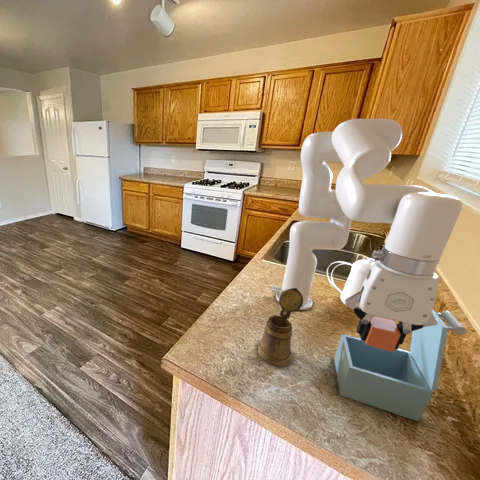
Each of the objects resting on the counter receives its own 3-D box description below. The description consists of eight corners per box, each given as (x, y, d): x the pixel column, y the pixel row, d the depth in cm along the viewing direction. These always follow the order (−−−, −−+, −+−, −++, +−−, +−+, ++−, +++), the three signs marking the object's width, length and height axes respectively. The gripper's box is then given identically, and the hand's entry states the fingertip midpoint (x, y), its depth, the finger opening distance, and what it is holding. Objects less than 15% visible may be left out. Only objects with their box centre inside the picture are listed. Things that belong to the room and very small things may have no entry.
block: (365, 344, 54) (372, 327, 52) (361, 331, 58) (367, 314, 56) (393, 352, 52) (401, 334, 50) (387, 337, 56) (394, 320, 54)
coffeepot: (400, 327, 87) (420, 277, 80) (317, 296, 104) (328, 253, 97) (403, 313, 94) (422, 265, 87) (325, 286, 111) (336, 245, 104)
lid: (442, 327, 50) (478, 331, 48) (417, 294, 61) (446, 296, 59) (431, 390, 55) (464, 396, 53) (409, 350, 65) (436, 353, 63)
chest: (340, 395, 64) (349, 367, 61) (334, 358, 74) (341, 333, 71) (418, 421, 58) (433, 392, 55) (399, 378, 68) (411, 351, 65)
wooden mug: (300, 345, 79) (313, 293, 73) (283, 371, 70) (296, 315, 64) (271, 331, 85) (280, 282, 79) (252, 353, 76) (260, 300, 70)
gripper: (355, 260, 49) (331, 339, 55) (483, 281, 42) (438, 368, 48) (349, 246, 55) (328, 318, 62) (459, 262, 48) (422, 342, 55)
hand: (377, 339), depth 55 cm, fingers closed on block, 4 cm apart
